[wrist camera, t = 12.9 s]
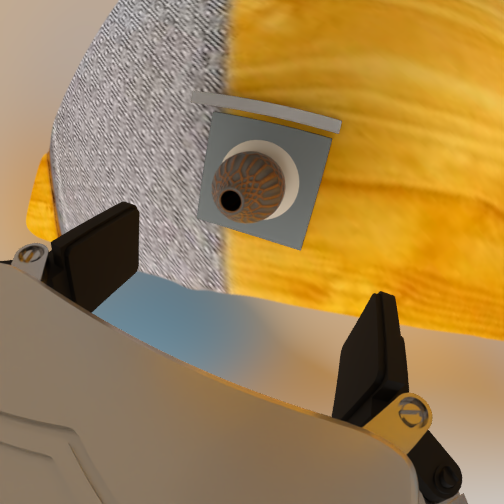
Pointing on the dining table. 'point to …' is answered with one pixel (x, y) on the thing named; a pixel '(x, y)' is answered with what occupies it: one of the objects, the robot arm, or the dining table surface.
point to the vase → (248, 187)
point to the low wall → (267, 110)
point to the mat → (290, 161)
